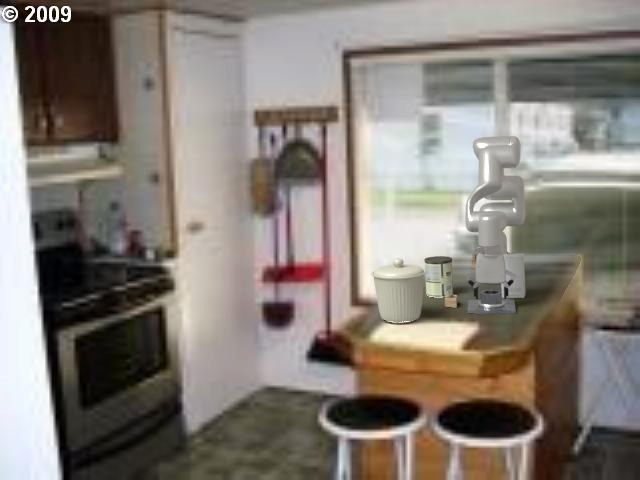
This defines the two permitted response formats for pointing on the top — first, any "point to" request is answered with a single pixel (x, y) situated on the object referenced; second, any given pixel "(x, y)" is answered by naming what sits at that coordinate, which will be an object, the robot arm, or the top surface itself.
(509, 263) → the skincare box
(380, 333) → the top surface
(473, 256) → the dish frame
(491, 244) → the robot arm
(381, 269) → the canister
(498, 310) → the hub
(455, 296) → the stand
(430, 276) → the coffee can
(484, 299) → the plate ring
